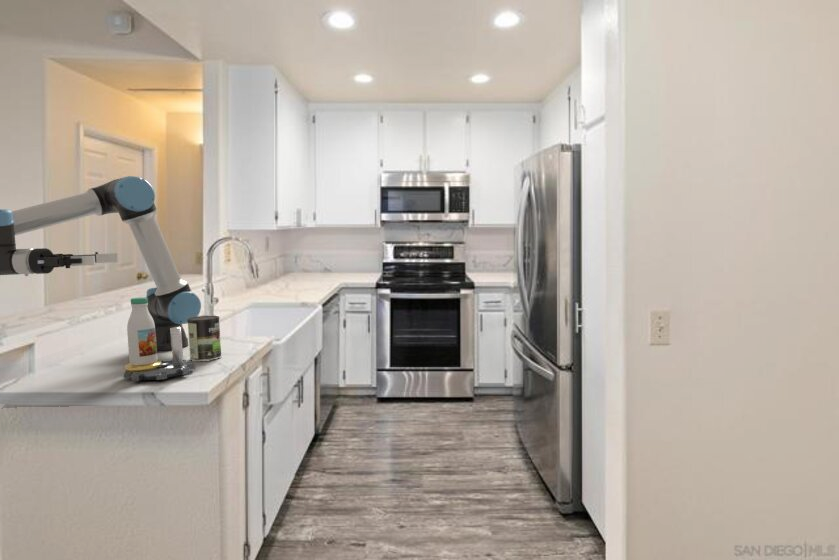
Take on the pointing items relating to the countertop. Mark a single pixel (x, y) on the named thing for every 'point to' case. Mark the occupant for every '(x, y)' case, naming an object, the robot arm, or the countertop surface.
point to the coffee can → (204, 338)
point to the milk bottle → (141, 334)
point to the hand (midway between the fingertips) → (106, 259)
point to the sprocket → (163, 363)
